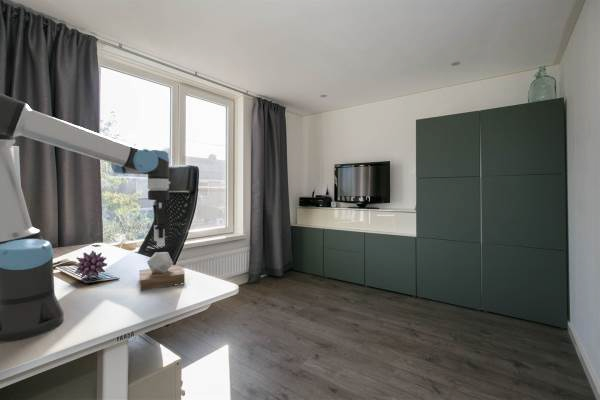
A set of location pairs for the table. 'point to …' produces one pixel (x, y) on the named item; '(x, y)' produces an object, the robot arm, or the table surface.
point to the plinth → (161, 278)
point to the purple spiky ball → (90, 264)
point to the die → (160, 262)
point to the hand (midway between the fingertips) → (159, 243)
